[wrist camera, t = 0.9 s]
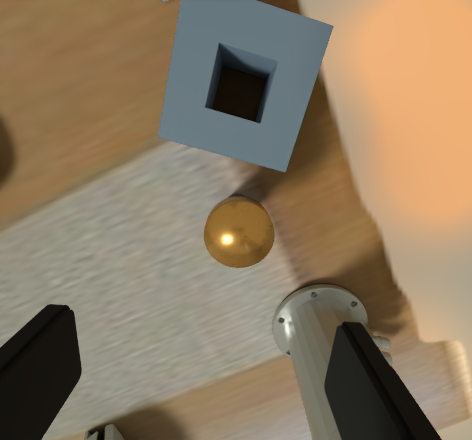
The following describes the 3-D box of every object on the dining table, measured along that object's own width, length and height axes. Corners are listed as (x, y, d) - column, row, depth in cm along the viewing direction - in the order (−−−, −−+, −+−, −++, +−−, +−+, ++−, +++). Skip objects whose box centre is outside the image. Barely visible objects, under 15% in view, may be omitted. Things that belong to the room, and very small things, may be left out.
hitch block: (307, 53, 26) (333, 26, 19) (273, 162, 30) (285, 172, 23) (198, 18, 25) (185, -24, 18) (175, 135, 28) (157, 137, 22)
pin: (269, 189, 30) (283, 212, 22) (254, 236, 32) (262, 274, 24) (218, 176, 30) (213, 194, 21) (206, 224, 32) (197, 259, 23)
